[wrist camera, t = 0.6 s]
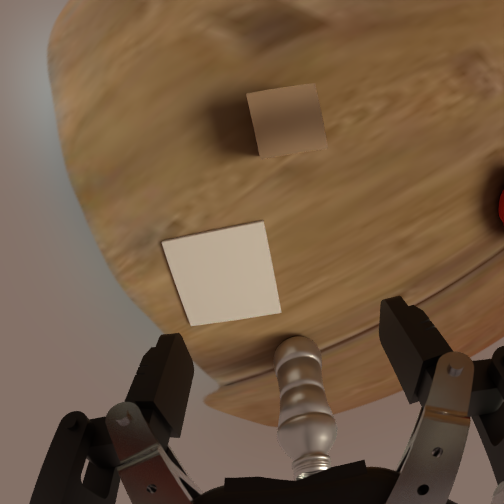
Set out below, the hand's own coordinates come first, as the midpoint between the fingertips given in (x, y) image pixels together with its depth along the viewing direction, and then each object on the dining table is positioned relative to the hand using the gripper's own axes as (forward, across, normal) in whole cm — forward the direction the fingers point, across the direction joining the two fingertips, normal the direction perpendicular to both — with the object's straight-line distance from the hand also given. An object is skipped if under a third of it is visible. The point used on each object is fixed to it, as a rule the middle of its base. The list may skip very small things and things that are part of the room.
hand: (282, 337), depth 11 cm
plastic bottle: (+22, -1, +21) cm, 30 cm away
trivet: (+22, +6, +8) cm, 24 cm away
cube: (+22, -3, -8) cm, 24 cm away
